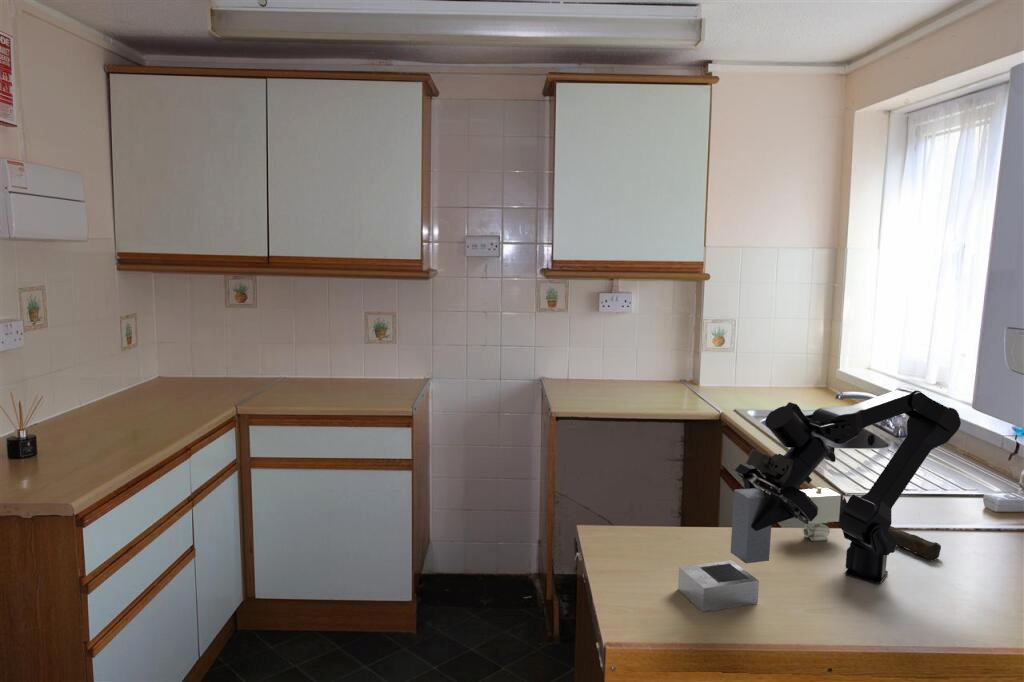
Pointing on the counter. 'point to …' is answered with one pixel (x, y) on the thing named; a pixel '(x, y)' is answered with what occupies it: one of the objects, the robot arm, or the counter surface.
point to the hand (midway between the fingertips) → (745, 523)
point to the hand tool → (916, 544)
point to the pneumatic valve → (822, 512)
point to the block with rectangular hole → (718, 585)
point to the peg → (750, 526)
